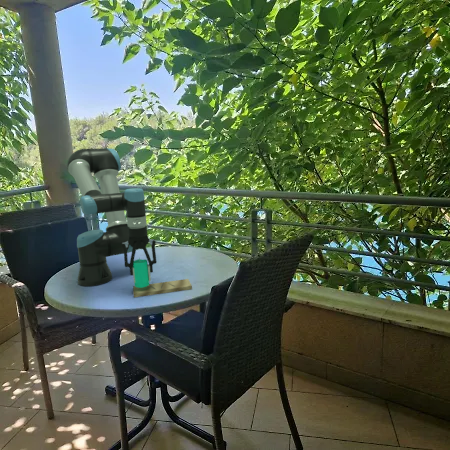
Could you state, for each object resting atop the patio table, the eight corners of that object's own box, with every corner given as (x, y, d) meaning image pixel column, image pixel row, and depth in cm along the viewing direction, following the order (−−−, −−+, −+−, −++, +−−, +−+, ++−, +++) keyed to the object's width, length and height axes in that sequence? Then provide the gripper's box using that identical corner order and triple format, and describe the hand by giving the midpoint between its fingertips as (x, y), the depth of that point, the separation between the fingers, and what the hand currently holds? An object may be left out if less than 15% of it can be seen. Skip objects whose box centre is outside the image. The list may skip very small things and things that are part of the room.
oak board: (133, 297, 137) (133, 294, 136) (133, 289, 145) (133, 286, 145) (192, 289, 143) (191, 285, 143) (188, 282, 151) (188, 278, 151)
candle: (146, 287, 138) (143, 259, 135) (132, 287, 139) (129, 259, 136) (151, 282, 143) (149, 255, 141) (138, 282, 145) (135, 255, 142)
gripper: (113, 230, 130) (119, 287, 135) (161, 226, 135) (165, 280, 140) (113, 227, 137) (119, 280, 142) (159, 223, 142) (163, 275, 147)
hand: (142, 280), depth 141 cm, fingers closed on candle, 5 cm apart
